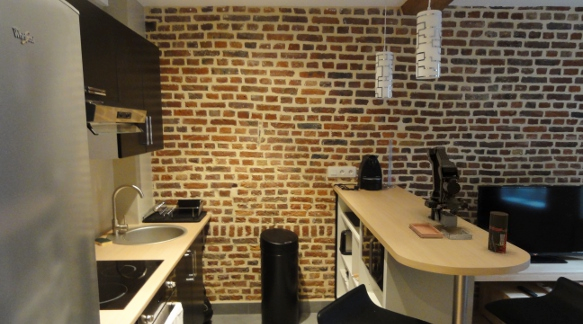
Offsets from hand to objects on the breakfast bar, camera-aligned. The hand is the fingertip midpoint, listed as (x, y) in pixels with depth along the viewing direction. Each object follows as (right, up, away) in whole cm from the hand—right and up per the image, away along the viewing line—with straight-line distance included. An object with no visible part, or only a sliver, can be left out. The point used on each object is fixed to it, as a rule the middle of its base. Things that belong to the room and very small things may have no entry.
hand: (445, 221), depth 142 cm
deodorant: (+7, -6, -26) cm, 27 cm away
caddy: (0, -1, 0) cm, 1 cm away
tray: (-12, -4, -5) cm, 14 cm away
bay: (0, -5, -10) cm, 11 cm away
